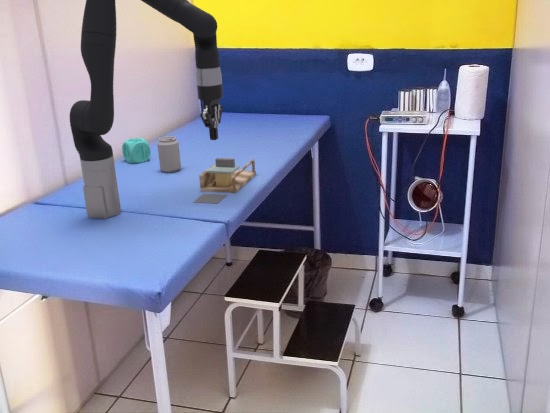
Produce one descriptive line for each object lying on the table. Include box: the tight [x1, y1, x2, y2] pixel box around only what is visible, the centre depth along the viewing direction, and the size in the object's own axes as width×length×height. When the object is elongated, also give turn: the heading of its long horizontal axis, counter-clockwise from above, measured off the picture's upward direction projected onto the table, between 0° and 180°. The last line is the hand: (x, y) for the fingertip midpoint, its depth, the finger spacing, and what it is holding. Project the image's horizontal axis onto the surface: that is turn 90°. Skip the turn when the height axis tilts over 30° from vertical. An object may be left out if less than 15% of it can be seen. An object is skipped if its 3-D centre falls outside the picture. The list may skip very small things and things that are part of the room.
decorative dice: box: [121, 137, 152, 164], centre depth 231 cm, size 8×8×8 cm
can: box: [156, 135, 182, 174], centre depth 216 cm, size 8×8×12 cm
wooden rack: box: [198, 159, 257, 194], centre depth 199 cm, size 20×12×6 cm, turn 163°
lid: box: [205, 157, 240, 174], centre depth 194 cm, size 6×9×3 cm
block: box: [215, 173, 232, 187], centre depth 195 cm, size 4×4×5 cm
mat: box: [192, 193, 228, 205], centre depth 185 cm, size 8×8×1 cm
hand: (214, 139), depth 186 cm, fingers closed
